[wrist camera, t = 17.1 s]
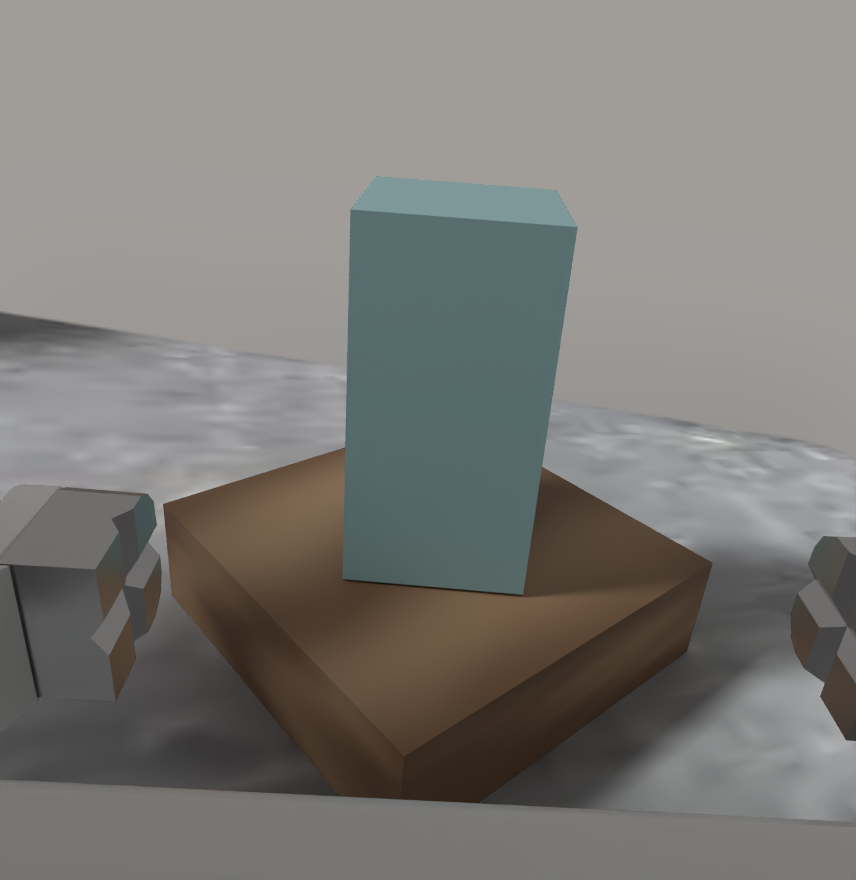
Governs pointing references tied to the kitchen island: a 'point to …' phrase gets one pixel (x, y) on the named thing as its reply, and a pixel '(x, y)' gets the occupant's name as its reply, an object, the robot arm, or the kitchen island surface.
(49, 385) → the kitchen island surface
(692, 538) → the kitchen island surface
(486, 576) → the teal block
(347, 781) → the walnut block
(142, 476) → the kitchen island surface
